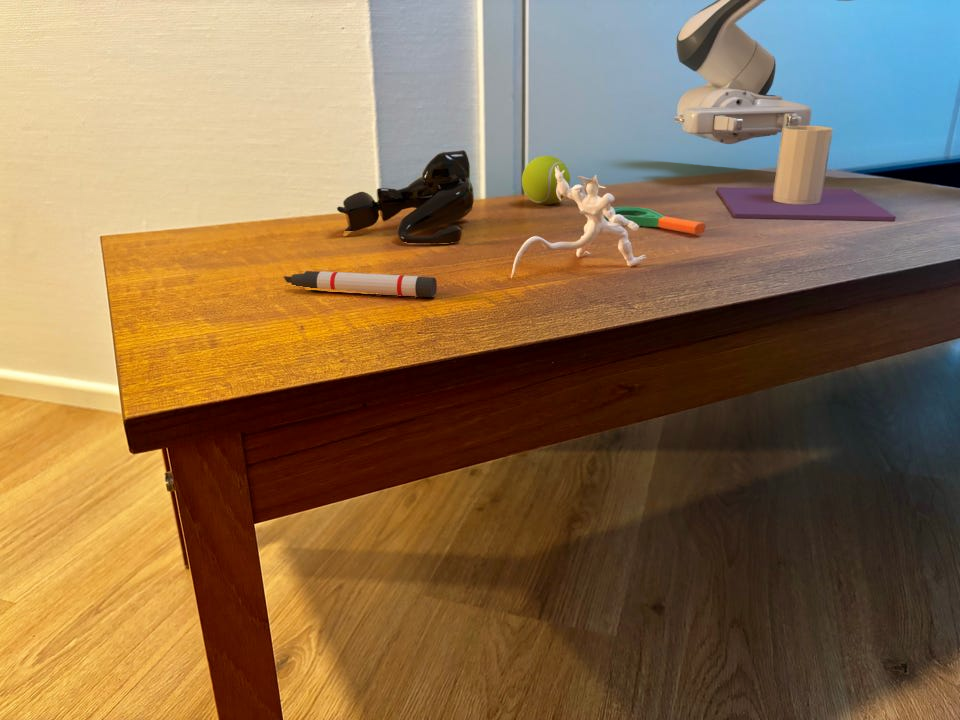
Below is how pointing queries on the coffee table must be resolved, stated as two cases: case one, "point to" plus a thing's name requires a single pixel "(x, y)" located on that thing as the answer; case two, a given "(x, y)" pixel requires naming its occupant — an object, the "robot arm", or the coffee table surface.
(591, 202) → the creature figurine
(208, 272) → the coffee table surface
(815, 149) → the pen cup
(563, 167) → the tennis ball
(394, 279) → the marker
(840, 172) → the coffee table surface
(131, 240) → the coffee table surface
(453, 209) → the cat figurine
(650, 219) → the magnifying glass
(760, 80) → the robot arm
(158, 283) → the coffee table surface
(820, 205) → the mat
